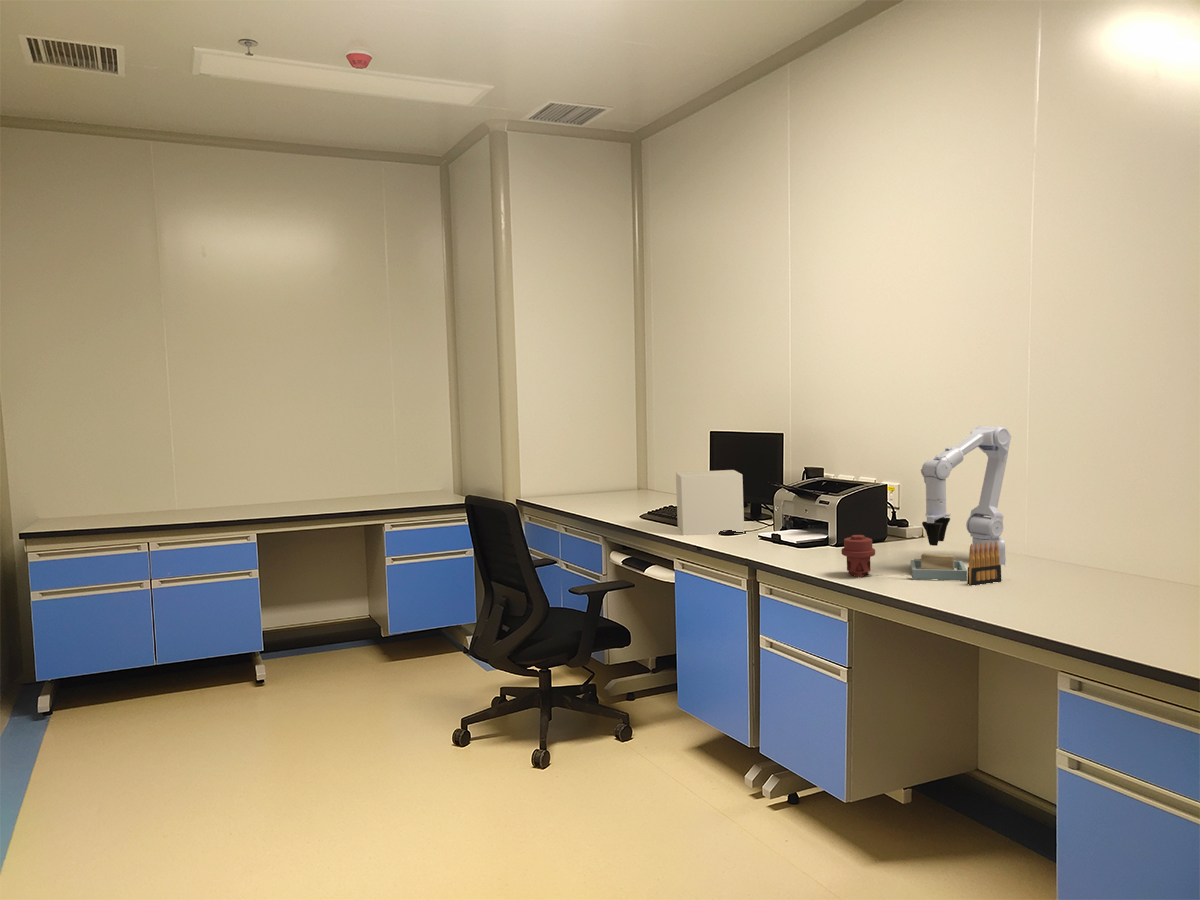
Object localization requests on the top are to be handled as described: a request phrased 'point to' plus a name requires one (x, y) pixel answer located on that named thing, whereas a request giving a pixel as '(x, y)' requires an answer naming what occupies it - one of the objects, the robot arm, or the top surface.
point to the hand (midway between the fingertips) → (936, 543)
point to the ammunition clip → (984, 564)
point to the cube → (709, 502)
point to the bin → (939, 572)
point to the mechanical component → (858, 554)
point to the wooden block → (937, 562)
